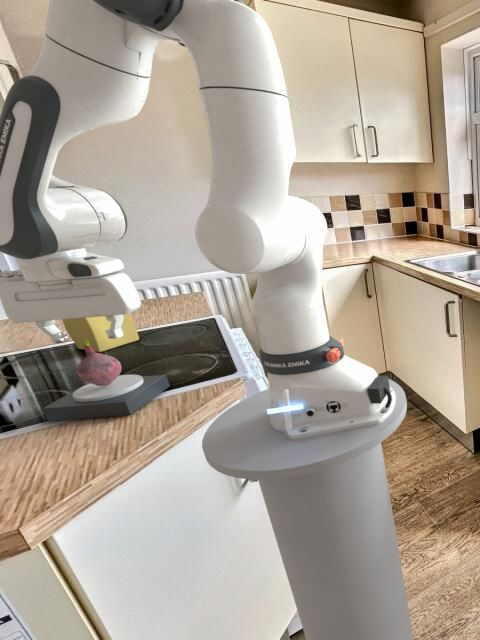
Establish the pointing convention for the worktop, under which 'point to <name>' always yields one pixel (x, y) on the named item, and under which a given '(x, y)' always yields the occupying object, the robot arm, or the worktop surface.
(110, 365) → the vegetable
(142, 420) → the worktop surface
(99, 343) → the cheese
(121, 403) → the scale
